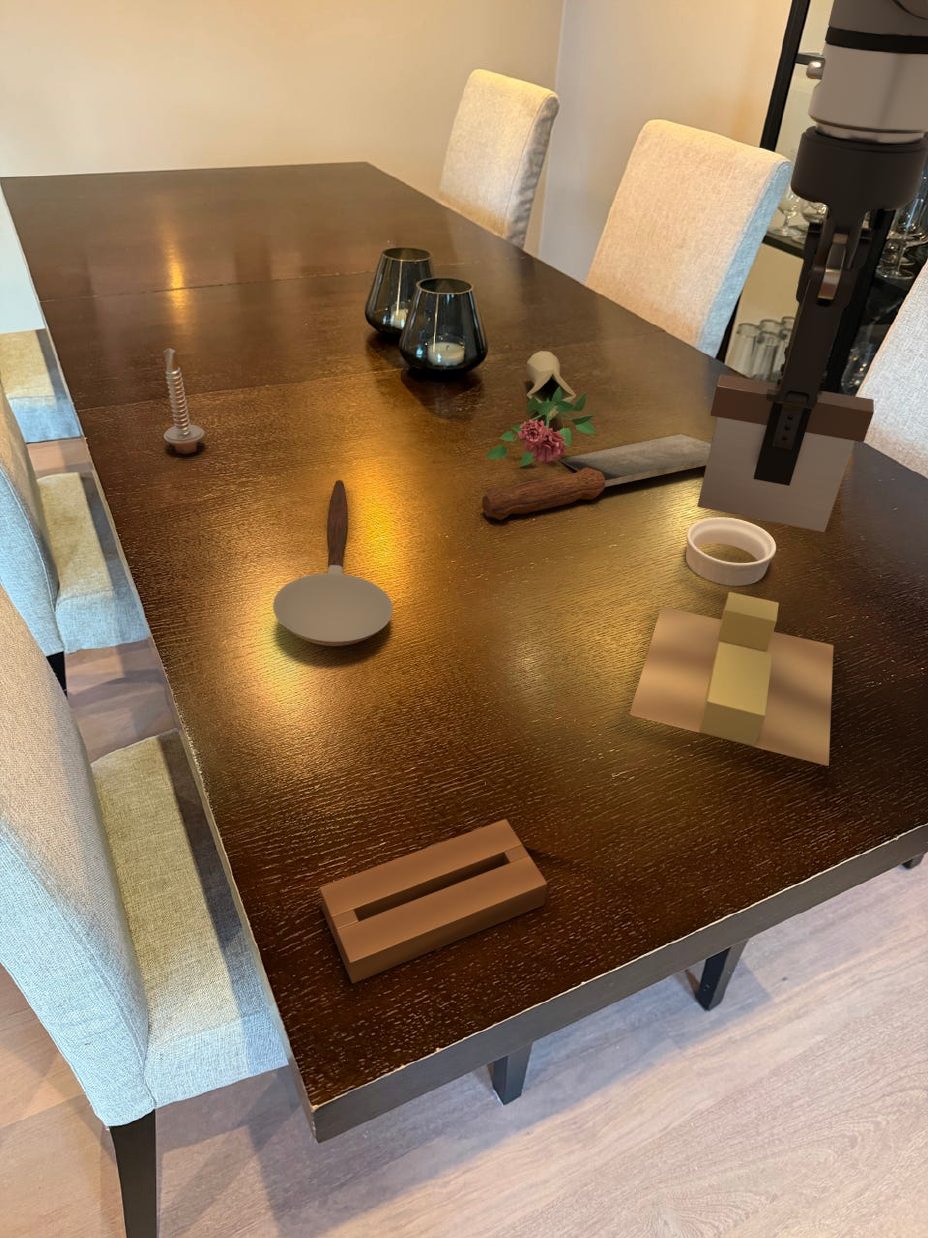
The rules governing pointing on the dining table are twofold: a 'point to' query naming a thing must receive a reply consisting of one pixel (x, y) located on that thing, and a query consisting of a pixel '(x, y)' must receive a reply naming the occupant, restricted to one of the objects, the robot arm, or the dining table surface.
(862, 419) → the dough scraper
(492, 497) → the meat cleaver
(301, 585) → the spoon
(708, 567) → the white ring
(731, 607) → the butter pat
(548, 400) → the carnation
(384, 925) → the block
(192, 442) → the screw
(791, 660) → the butter board
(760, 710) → the butter stick
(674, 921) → the dining table surface
